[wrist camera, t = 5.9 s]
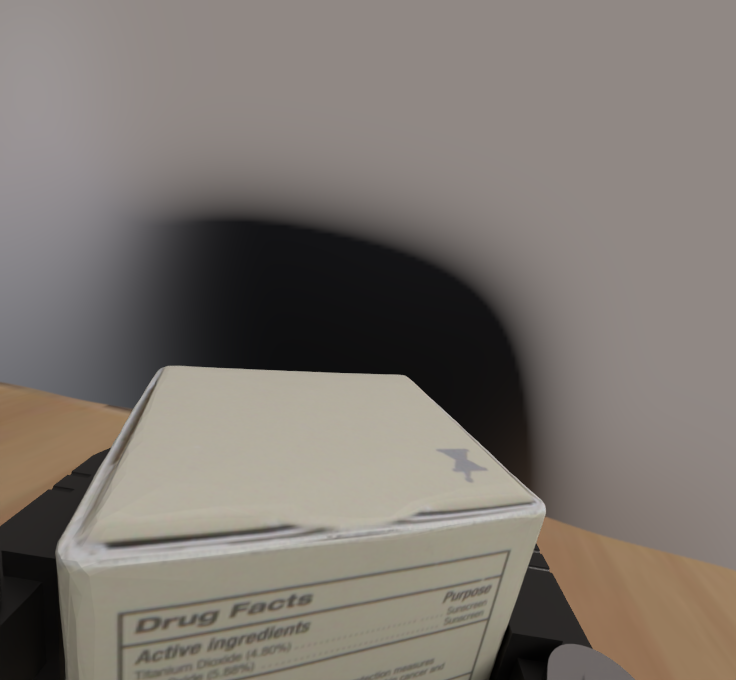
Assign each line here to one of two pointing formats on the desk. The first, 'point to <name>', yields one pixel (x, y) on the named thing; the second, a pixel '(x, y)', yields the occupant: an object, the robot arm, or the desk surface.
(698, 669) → the desk surface
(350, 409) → the box
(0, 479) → the desk surface
